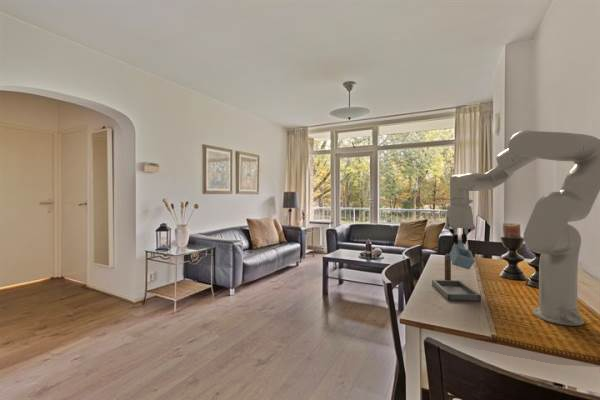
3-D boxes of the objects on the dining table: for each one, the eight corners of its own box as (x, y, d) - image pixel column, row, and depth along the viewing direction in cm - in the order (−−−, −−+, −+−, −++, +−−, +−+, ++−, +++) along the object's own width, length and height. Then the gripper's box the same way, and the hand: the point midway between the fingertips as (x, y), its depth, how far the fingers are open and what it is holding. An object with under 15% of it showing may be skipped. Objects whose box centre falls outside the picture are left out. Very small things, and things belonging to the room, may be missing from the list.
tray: (480, 301, 111) (480, 295, 111) (447, 300, 113) (447, 294, 113) (460, 286, 130) (460, 280, 130) (432, 285, 132) (432, 279, 132)
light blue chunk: (462, 250, 133) (467, 242, 131) (469, 269, 122) (475, 261, 120) (446, 245, 134) (451, 237, 132) (452, 264, 123) (457, 255, 121)
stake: (452, 282, 135) (451, 255, 135) (446, 282, 135) (446, 255, 135) (449, 280, 138) (449, 253, 138) (443, 280, 139) (443, 253, 138)
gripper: (475, 202, 133) (475, 242, 133) (437, 202, 135) (437, 242, 135) (483, 202, 125) (483, 245, 125) (443, 202, 127) (443, 244, 128)
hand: (459, 243), depth 130 cm, fingers closed on light blue chunk, 2 cm apart
